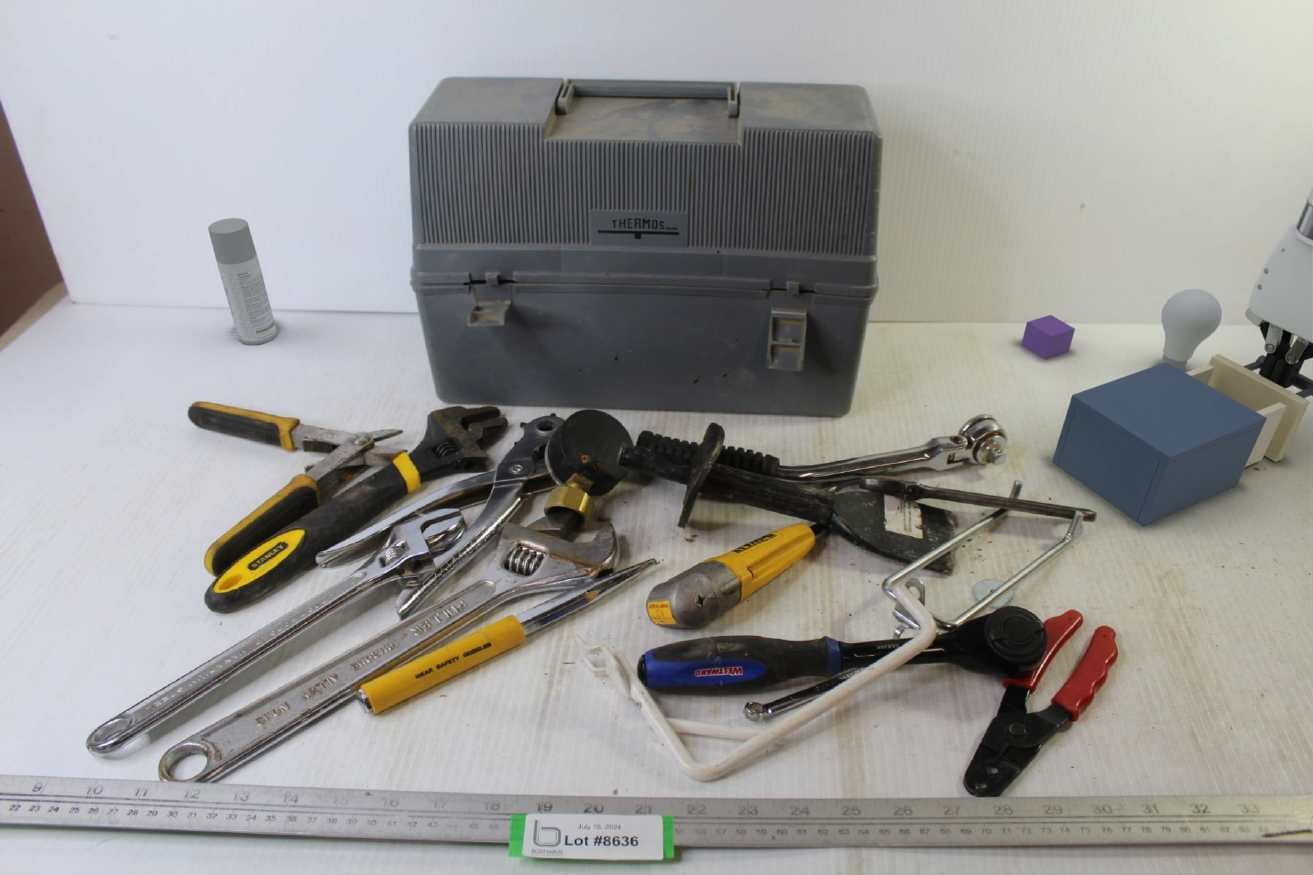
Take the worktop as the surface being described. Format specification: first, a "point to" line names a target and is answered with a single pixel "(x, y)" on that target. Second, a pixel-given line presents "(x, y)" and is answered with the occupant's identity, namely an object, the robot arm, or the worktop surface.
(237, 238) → the container
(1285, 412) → the cream drawer
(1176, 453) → the blue drawer cabinet
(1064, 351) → the purple cube
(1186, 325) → the lightbulb
